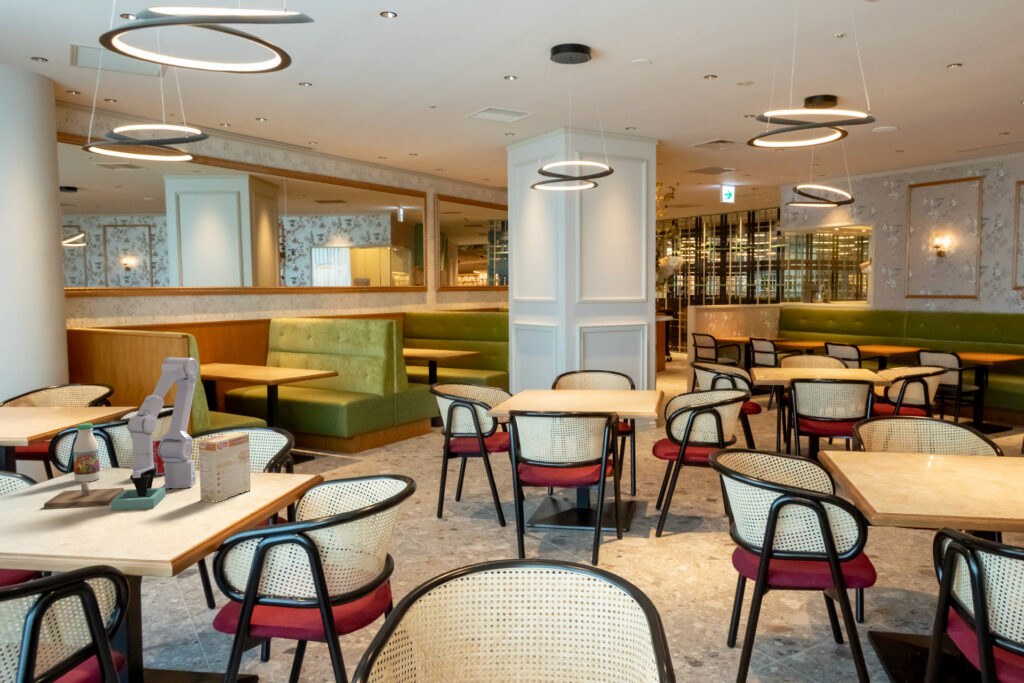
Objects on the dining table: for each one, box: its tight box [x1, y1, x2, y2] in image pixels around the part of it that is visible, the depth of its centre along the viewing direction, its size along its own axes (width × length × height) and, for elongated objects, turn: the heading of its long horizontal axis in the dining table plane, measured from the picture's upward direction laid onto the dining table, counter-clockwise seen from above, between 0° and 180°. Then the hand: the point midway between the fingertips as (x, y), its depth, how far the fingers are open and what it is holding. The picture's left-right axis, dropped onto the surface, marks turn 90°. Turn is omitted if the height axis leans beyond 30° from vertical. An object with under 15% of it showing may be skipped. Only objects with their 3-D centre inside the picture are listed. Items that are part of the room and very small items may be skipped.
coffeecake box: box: [198, 431, 252, 503], centre depth 228 cm, size 15×7×20 cm, turn 155°
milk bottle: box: [73, 422, 101, 483], centre depth 247 cm, size 8×8×20 cm
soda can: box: [152, 436, 165, 476], centre depth 255 cm, size 7×7×13 cm
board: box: [43, 482, 125, 509], centre depth 223 cm, size 18×14×6 cm
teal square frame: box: [110, 487, 166, 511], centre depth 220 cm, size 12×12×3 cm
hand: (144, 494), depth 225 cm, fingers open, 4 cm apart
